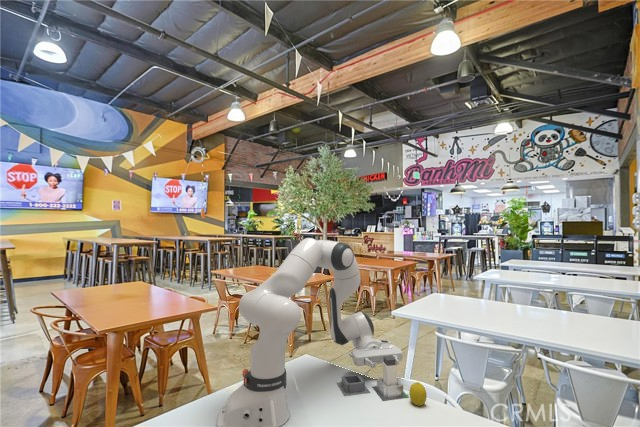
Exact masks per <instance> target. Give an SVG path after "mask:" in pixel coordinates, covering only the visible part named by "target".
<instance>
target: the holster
mask: <svg viewBox="0 0 640 427" xmlns="http://www.w3.org/2000/svg"><path fill="white" fill-rule="evenodd" d="M336 385H337V387H338V388H339V390H340V391H341V393H342V396H343V397H350V396H356V395H357V396H358V395H359V396H360V395H365V394H366V395H367V394H371V391H370V390H369V389H368V387H367V385H366V384H365V381H364V379H363V378H362V376H361V375H360V374H348V375H346V374H345V375H343V376H341V381H339V382H336Z"/></svg>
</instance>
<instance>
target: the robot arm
mask: <svg viewBox="0 0 640 427" xmlns="http://www.w3.org/2000/svg"><path fill="white" fill-rule="evenodd" d="M318 267H319V268H322V269H324V270H325V269H326V270H332V275H333V284H332V287H331V288H330V289H329V294H328V300H329V301H328V303H329V318H330V326H329V330H330V337H331V338H332V340H333V342H334V343H335V344H337V345H340V346H344V345H346V344H348V343H349V342H350V341H351V343H352V345H353V347H354V349H353V350H352V351H351V352H349V353H348V355H349V357H350V358H352V361H353V364H354V365H355V366H357V367H359V366H361V367H362V366H367V367H370V368H372V369H374V368H376V365H378V364H379V365H380V364H383V362H384V357H387V356H392V357H393V358H394V359H396V366H399V364H400V363H399V362H402V361H403V359H404V352H403V350H401V348H400V347H398V346H397V345H395V344H392V342H391V341H390V340H380V339H378V338H374V335H375V334H374V333H375V327H374V323H373V320H372V319H371V317H370V316H369V315H368V314H367V313H365V312H364V311H359V312H356V313H353V314H350V315H349V316H347V317H344V318H342V312H341V311H342V310H341V309H342V308H341V307H342V305H343V303H344V302H346V300H347V299H348V298H349V297H350V296H352V295H354V293H356V291H357V290H358V289H359V287H360V285H361V281H362V279H361V272H360V267H359V264H358V261H357V258H356V256H355V254H354V250H353V249H352V247H351V246H350V245H349V244H348V243H345V242H340V241H339V242H338V241H335V240H331V239H315V238H313V237H312V238H311V237H305V238H303V239H302V240H300V242H299V243H298V244H296V245H295V246H294V248H293V249H292V250H291V251H290V252H289V254H287V257H285V259H284V260H283V261H282V263H281V264H280V265H279V267H278V268H277V269H276V270H275V272H274V273H273V274H272V275H270V276H269V277H268V278H267V279H266V280H264V281H263V282H262V283H260V284H259V285H258V286H257V287H256V288H254V289H252V290H250V291H247V292H245V293H244V294H243V295H242V296H241V298H240V299H239V302H238V311H239V314H240V316H241V317H242V318H243V319H245V321H247V323H250V324H253V325H255V326H257V327H259V334H258V338H257V340H256V341H255V342H254V343H253V344H252V345H251V347H250V370H248V368H245V369H243V370H242V374H241V375H242V377H243V384H242V385H240V386H239V387H238V388H237V389H235V390H234V391H233V392H231V394H229V397H228V398H227V401H226V403H225V406H224V407H223V408H222V409H221V411H219V414H218V415H217V416H218V417H217V420H216V421H217V422H216V427H281V426H283V425H284V424H285V423H287V422H288V420H289V418H290V417H291V412H290V408H289V405H288V399H287V392H286V389H287V380H288V377H287V376H288V375H287V374H288V373H287V368H286V350H287V348H286V346H287V342H288V339H289V336H290V334H292V333H293V331H295V330H296V329H297V328H298V327H299V324H300V322H301V318H302V314H301V313H302V310H301V308H300V306H299V304H298V303H297V302H295V301H293V300H292V299H291V297H292V296H294V295H297V294H299V293H300V292H302V291H303V290H304V288H305V286H306V285H307V283H308V281H309V280H310V279H311V277H312V276H313V274H314V273H315V272H316V270H317V268H318Z"/></svg>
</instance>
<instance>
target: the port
mask: <svg viewBox="0 0 640 427" xmlns="http://www.w3.org/2000/svg"><path fill="white" fill-rule="evenodd" d="M371 388H372V390H373V391H374V392H375V393H376V394H377V395H378V397H379V399H381V401H382V402H388V401H394V400H402V399H409V398H410V395H409V393H406V392H405V391H404V384H403V383H402V382H401V381H400V380H399V379H398V378H397V385H393V386H386V385H385V384H384V383H383V377H378V378H377V379H376V385H375V386H371Z"/></svg>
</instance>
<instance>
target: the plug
mask: <svg viewBox="0 0 640 427" xmlns="http://www.w3.org/2000/svg"><path fill="white" fill-rule="evenodd" d="M382 378H383V383H384V384H385V385H386V386H393V385H397V379H398V377H397V365H396V359H394V358H393V357H392V356H387V357H384V362H383V363H382Z"/></svg>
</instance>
